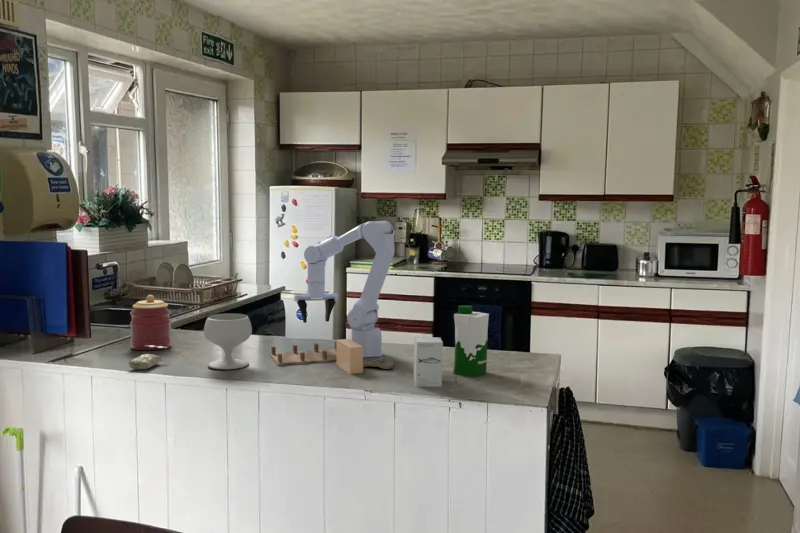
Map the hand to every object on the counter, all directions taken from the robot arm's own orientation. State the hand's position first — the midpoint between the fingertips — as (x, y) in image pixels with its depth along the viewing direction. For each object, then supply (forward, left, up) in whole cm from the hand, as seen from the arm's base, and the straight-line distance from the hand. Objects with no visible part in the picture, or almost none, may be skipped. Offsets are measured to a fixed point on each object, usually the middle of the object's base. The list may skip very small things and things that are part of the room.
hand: (316, 321), depth 232 cm
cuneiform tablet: (+50, +2, -7) cm, 51 cm away
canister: (+52, -20, -10) cm, 57 cm away
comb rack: (+5, +12, -9) cm, 16 cm away
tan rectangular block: (-3, +30, -10) cm, 31 cm away
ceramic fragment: (-17, +34, -9) cm, 39 cm away
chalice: (+31, +15, -10) cm, 35 cm away
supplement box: (-19, +52, -10) cm, 56 cm away
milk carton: (-35, +46, -10) cm, 59 cm away
